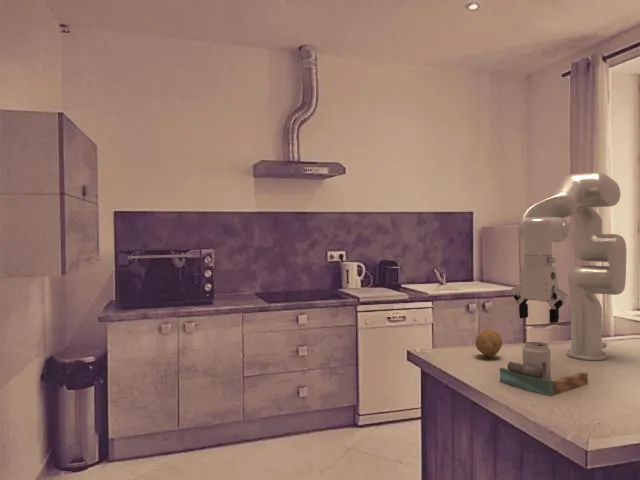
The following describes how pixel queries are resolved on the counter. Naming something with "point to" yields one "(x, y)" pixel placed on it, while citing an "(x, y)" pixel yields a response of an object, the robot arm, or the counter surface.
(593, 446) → the counter surface
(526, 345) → the can
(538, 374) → the bay
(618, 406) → the counter surface
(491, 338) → the natural sponge
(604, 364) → the counter surface
